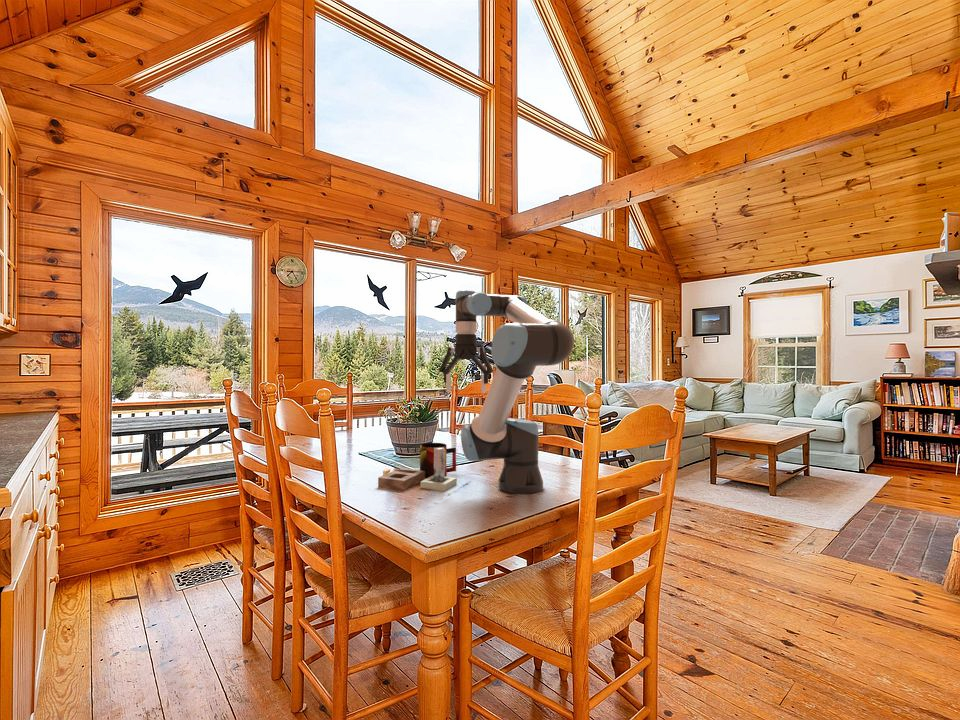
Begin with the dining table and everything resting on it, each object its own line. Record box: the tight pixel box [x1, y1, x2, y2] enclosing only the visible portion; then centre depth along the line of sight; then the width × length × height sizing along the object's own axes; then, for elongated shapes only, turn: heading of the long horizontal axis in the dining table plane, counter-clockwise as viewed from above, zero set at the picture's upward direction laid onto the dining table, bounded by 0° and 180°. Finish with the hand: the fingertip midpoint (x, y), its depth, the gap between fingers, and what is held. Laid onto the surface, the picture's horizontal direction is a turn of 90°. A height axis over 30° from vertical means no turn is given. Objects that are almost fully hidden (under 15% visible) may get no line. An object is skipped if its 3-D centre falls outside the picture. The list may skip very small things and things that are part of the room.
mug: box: [419, 442, 457, 479], centre depth 179 cm, size 10×14×12 cm
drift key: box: [382, 468, 391, 476], centre depth 172 cm, size 10×3×4 cm, turn 67°
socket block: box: [377, 467, 426, 491], centre depth 166 cm, size 10×14×4 cm
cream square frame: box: [419, 475, 458, 492], centre depth 163 cm, size 9×9×3 cm
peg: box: [434, 448, 445, 483], centre depth 163 cm, size 4×4×13 cm
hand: (465, 392), depth 176 cm, fingers open, 13 cm apart
